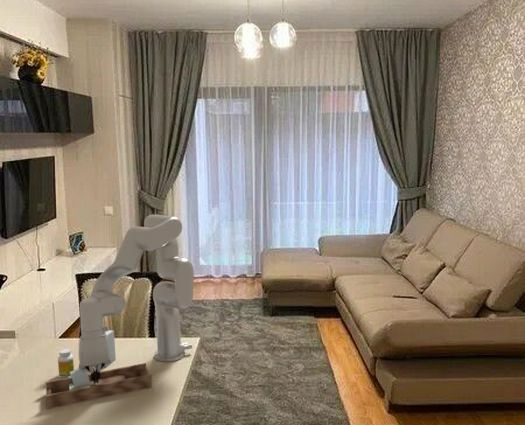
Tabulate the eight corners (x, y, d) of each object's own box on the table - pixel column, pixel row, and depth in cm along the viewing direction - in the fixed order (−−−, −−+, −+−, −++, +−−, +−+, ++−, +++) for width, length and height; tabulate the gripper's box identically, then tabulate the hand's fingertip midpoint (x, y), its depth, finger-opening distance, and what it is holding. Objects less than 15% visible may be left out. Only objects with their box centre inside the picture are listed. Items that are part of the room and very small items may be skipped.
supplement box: (116, 359, 197) (114, 330, 196) (106, 367, 190) (104, 337, 188) (100, 357, 199) (98, 328, 197) (89, 365, 192) (88, 335, 190)
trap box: (146, 374, 184) (145, 362, 184) (151, 387, 175) (151, 374, 174) (46, 393, 170) (45, 381, 170) (46, 409, 161) (45, 395, 160)
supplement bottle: (68, 378, 181) (67, 354, 180) (56, 377, 183) (54, 353, 181) (77, 372, 187) (75, 348, 185) (64, 371, 188) (62, 347, 186)
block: (88, 380, 173) (84, 366, 171) (91, 386, 168) (86, 371, 167) (74, 386, 170) (69, 372, 169) (76, 393, 166) (72, 377, 165)
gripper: (113, 325, 175) (116, 373, 178) (69, 332, 169) (73, 381, 172) (116, 333, 169) (118, 382, 171) (70, 340, 163) (74, 390, 165)
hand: (95, 381), depth 172 cm, fingers closed
